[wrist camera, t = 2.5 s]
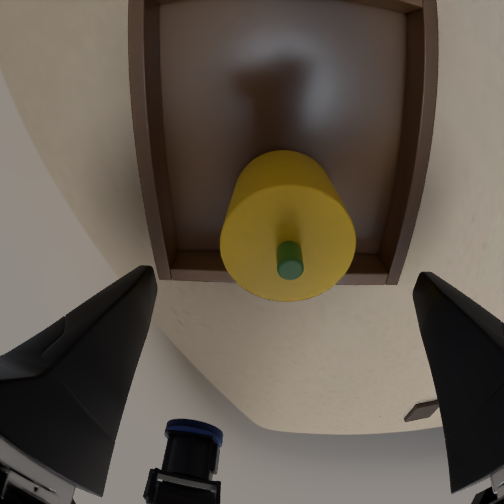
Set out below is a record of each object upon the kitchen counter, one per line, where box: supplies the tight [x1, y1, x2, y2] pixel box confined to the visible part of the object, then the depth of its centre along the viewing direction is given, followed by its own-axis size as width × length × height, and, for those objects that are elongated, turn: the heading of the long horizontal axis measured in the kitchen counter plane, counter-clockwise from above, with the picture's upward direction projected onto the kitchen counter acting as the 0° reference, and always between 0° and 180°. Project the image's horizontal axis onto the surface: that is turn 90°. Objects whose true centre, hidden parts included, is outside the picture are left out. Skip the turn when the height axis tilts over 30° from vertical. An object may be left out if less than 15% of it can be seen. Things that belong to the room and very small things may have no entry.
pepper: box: [220, 150, 356, 302], centre depth 12 cm, size 5×5×7 cm
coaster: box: [404, 400, 439, 422], centre depth 29 cm, size 4×4×1 cm
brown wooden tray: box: [128, 0, 438, 285], centre depth 13 cm, size 14×16×2 cm
